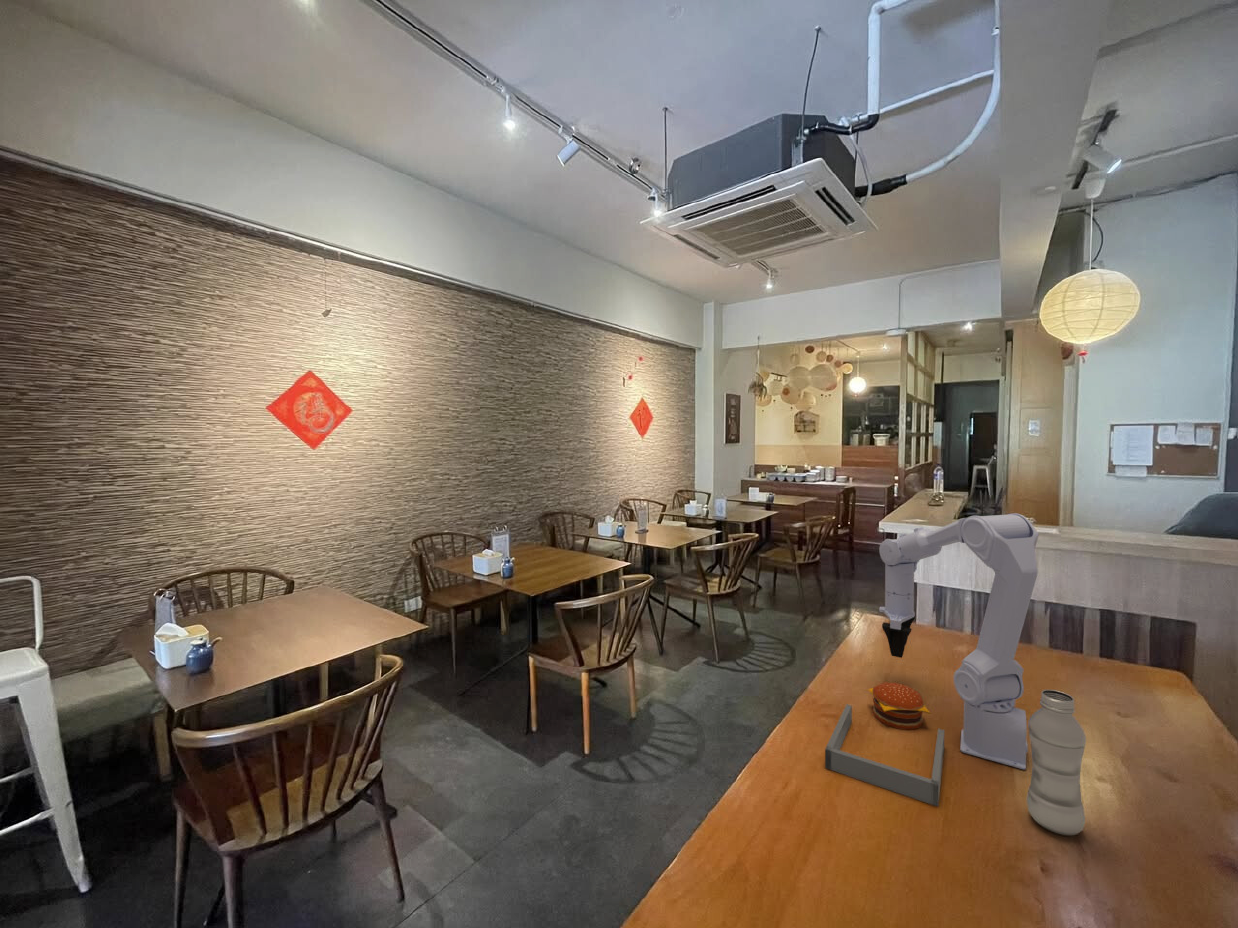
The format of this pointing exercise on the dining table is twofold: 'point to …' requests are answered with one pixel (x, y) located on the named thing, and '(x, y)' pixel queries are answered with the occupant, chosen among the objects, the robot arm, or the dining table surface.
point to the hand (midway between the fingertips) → (898, 650)
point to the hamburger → (898, 706)
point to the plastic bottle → (1056, 765)
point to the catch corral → (883, 766)
